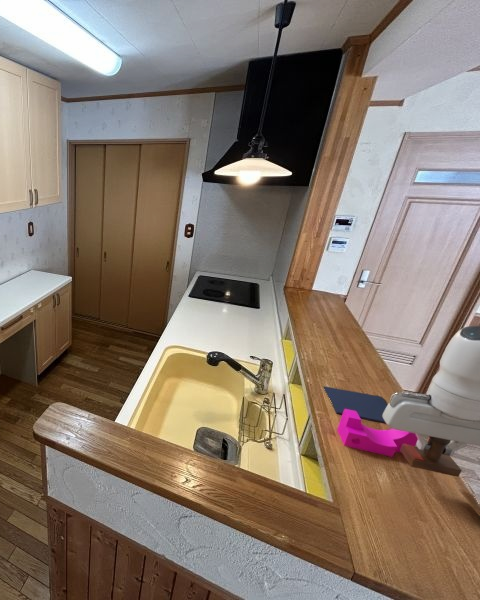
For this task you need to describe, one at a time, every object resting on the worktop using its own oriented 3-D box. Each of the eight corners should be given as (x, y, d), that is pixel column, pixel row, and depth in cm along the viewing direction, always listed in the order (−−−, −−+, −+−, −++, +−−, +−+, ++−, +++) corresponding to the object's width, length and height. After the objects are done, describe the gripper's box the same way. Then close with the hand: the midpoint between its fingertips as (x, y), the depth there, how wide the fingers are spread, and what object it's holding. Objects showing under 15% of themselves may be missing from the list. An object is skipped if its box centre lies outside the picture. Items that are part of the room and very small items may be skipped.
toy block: (344, 445, 87) (352, 423, 85) (337, 429, 93) (344, 408, 90) (415, 462, 82) (426, 439, 79) (403, 444, 87) (413, 422, 85)
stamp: (444, 459, 74) (459, 428, 71) (458, 477, 70) (475, 445, 67) (399, 450, 77) (412, 419, 74) (410, 466, 73) (424, 435, 69)
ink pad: (381, 398, 106) (381, 396, 106) (402, 426, 94) (403, 425, 93) (323, 387, 111) (323, 386, 111) (336, 413, 99) (337, 411, 99)
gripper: (401, 398, 68) (381, 448, 73) (539, 421, 61) (507, 475, 66) (387, 381, 74) (369, 429, 78) (512, 401, 66) (484, 452, 71)
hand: (433, 450), depth 72 cm, fingers closed on stamp, 2 cm apart
